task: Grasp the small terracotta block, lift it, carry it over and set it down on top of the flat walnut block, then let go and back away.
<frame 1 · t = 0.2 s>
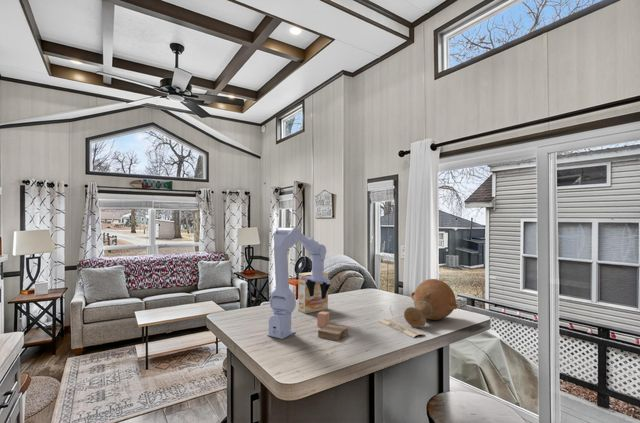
hand: (317, 297, 158), 10 cm above the table, fingers open, 7 cm apart
terracotta block: (323, 326, 145), on the table
coffeecake box: (313, 310, 172), on the table
newspaper: (399, 330, 143), on the table
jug: (426, 321, 155), on the table
walnut base block: (333, 336, 134), on the table
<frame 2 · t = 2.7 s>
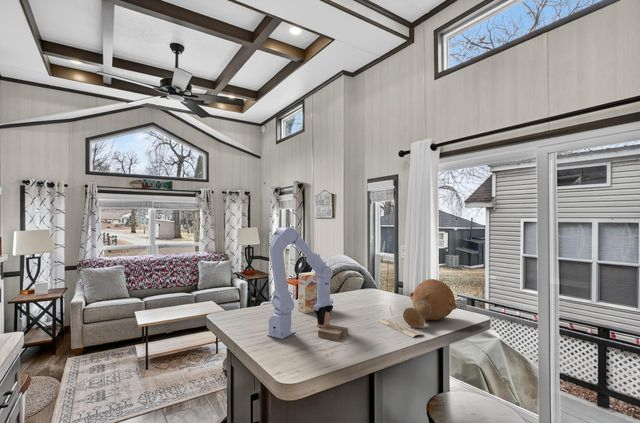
hand: (323, 323, 145), 1 cm above the table, fingers closed on terracotta block, 4 cm apart
terracotta block: (323, 326, 145), on the table, touching gripper
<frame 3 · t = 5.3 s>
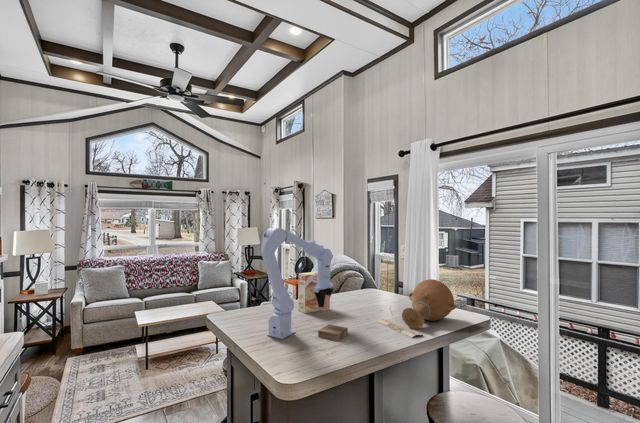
hand: (323, 305, 145), 9 cm above the table, fingers closed on terracotta block, 4 cm apart
terracotta block: (323, 309, 145), point 8 cm above the table, touching gripper
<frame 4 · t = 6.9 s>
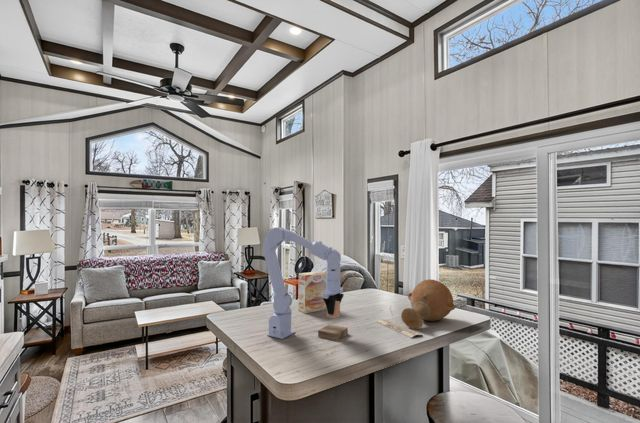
hand: (333, 312, 134), 9 cm above the table, fingers closed on terracotta block, 4 cm apart
terracotta block: (333, 316, 134), point 8 cm above the table, touching gripper
when the fingers open (5 cm above the table, at t = 8.1 s): terracotta block drops 1 cm, point 3 cm above the table.
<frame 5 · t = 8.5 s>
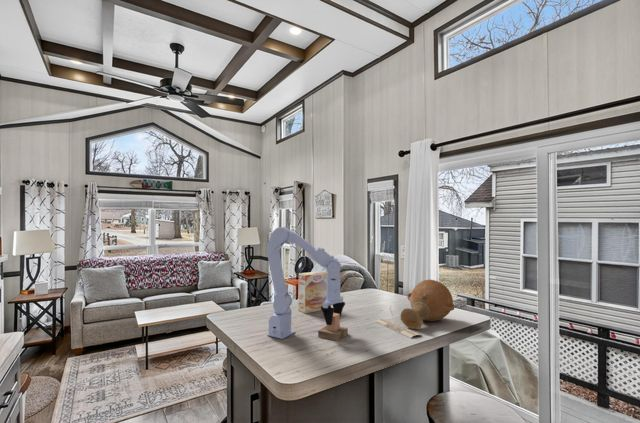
hand: (333, 322, 134), 5 cm above the table, fingers open, 7 cm apart
terracotta block: (333, 329, 134), point 3 cm above the table
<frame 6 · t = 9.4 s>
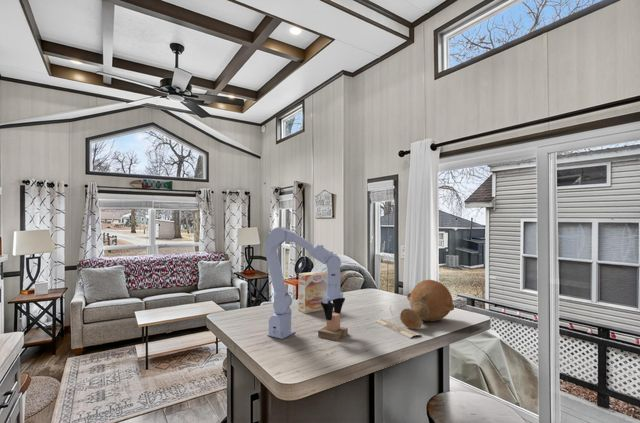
hand: (333, 317, 134), 7 cm above the table, fingers open, 7 cm apart
terracotta block: (333, 328, 134), point 2 cm above the table, touching walnut base block
walnut base block: (333, 336, 134), on the table, touching terracotta block
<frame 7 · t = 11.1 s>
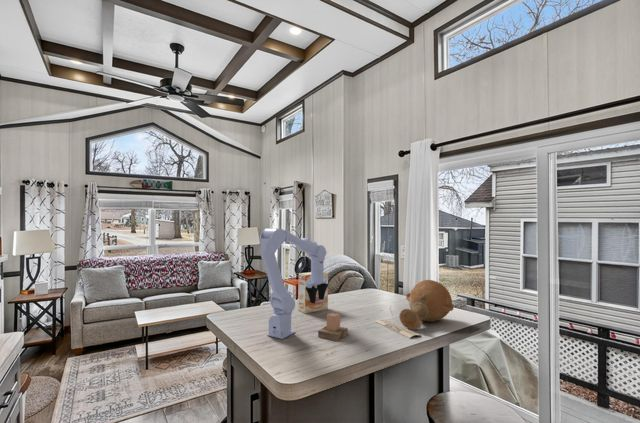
hand: (317, 301, 148), 10 cm above the table, fingers open, 7 cm apart
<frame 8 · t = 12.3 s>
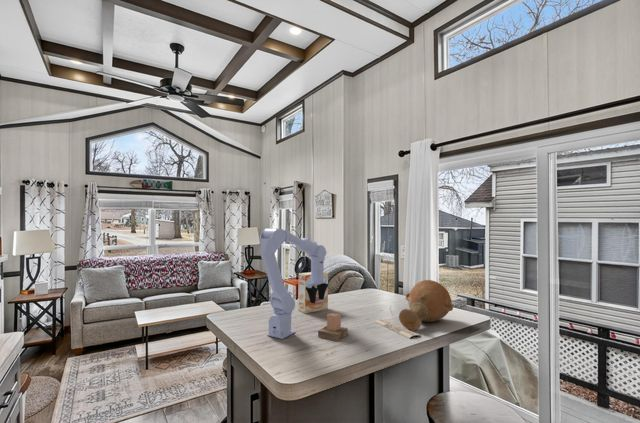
hand: (317, 301, 148), 10 cm above the table, fingers open, 7 cm apart
at the end: terracotta block 0.5 cm off-centre on the walnut base block, point 3.0 cm above the walnut base block's base; terracotta block tilted 0°; the gripper is holding nothing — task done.
